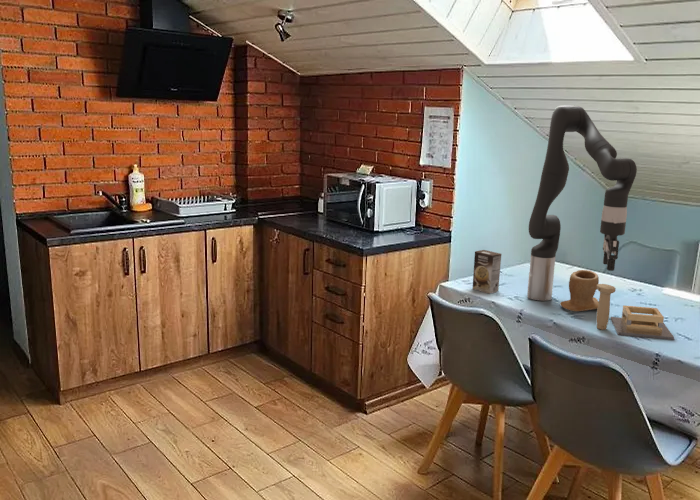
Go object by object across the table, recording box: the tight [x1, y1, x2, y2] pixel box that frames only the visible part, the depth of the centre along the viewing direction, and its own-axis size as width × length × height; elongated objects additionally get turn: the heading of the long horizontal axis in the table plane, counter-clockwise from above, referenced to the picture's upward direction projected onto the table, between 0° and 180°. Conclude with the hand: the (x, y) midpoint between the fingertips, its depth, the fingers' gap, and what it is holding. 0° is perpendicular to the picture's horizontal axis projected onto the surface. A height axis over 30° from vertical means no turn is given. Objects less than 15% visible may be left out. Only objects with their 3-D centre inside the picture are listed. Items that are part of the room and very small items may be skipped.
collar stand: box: [609, 305, 675, 341], centre depth 209 cm, size 17×16×6 cm
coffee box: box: [472, 249, 502, 295], centre depth 251 cm, size 9×6×16 cm
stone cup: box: [559, 269, 600, 312], centre depth 228 cm, size 15×12×15 cm
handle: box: [596, 283, 616, 331], centre depth 208 cm, size 5×6×15 cm
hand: (608, 267), depth 205 cm, fingers open, 8 cm apart
